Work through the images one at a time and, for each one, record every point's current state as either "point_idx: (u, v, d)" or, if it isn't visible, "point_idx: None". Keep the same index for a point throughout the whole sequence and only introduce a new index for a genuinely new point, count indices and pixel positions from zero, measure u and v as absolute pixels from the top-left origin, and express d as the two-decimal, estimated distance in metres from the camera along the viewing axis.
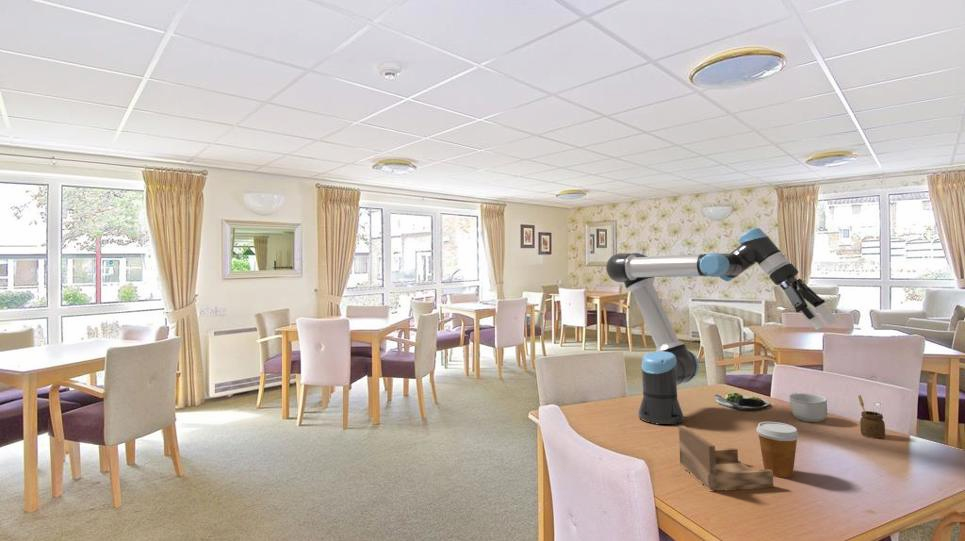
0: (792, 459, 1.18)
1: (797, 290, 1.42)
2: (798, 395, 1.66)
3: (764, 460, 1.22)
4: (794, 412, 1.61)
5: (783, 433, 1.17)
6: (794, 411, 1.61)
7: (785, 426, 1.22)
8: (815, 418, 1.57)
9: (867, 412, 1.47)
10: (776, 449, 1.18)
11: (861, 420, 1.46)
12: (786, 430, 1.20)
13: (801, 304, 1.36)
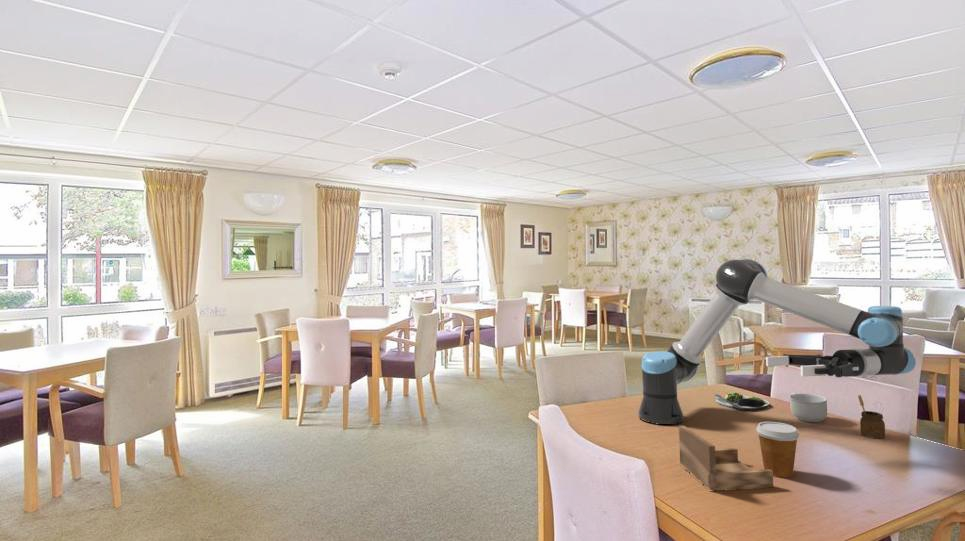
0: (792, 459, 1.18)
1: None
2: (798, 395, 1.66)
3: (764, 460, 1.22)
4: (794, 412, 1.61)
5: (783, 433, 1.17)
6: (794, 411, 1.61)
7: (785, 426, 1.22)
8: (815, 418, 1.57)
9: (867, 412, 1.47)
10: (776, 449, 1.18)
11: (861, 420, 1.46)
12: (786, 430, 1.20)
13: (839, 375, 1.20)
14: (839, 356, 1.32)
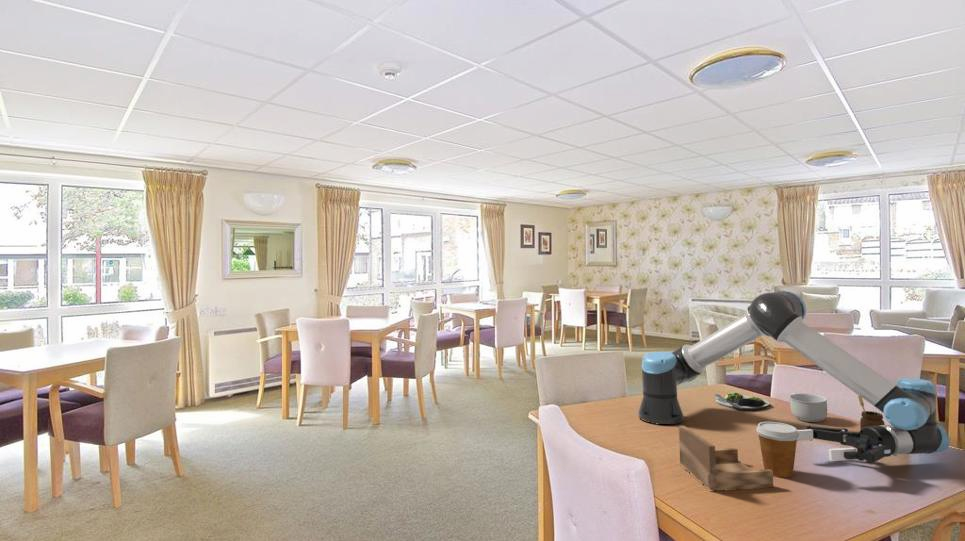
0: (792, 459, 1.18)
1: (867, 452, 1.18)
2: (798, 395, 1.66)
3: (764, 460, 1.22)
4: (794, 412, 1.61)
5: (783, 433, 1.17)
6: (794, 411, 1.61)
7: (785, 426, 1.22)
8: (815, 418, 1.57)
9: (867, 412, 1.47)
10: (776, 449, 1.18)
11: (861, 420, 1.46)
12: (786, 430, 1.20)
13: (871, 461, 1.12)
14: (868, 433, 1.23)
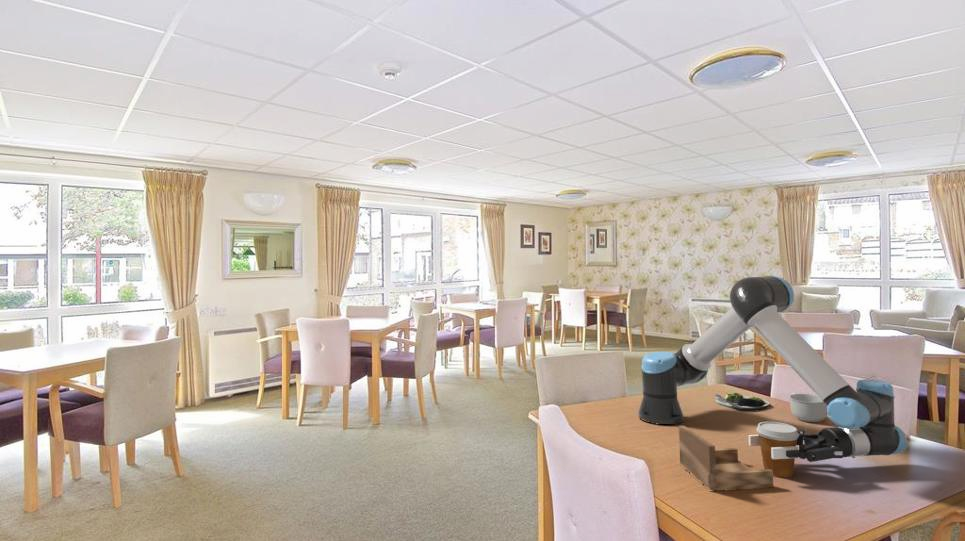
0: (792, 459, 1.18)
1: None
2: (798, 395, 1.66)
3: (764, 460, 1.22)
4: (794, 412, 1.61)
5: (783, 433, 1.17)
6: (794, 411, 1.61)
7: (785, 426, 1.22)
8: (815, 418, 1.57)
9: None
10: None
11: None
12: (786, 430, 1.20)
13: (811, 460, 1.14)
14: (826, 435, 1.23)
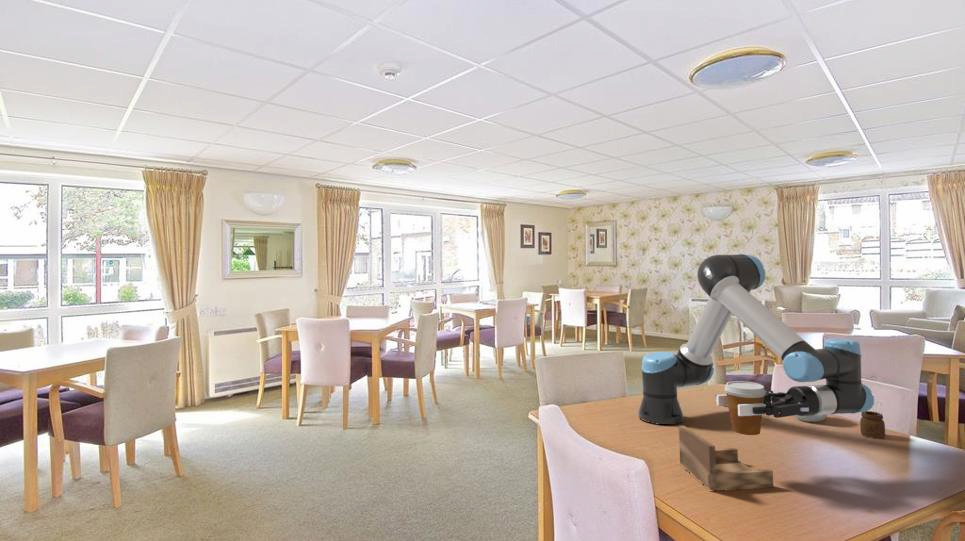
0: (759, 416, 1.17)
1: None
2: None
3: (732, 419, 1.20)
4: None
5: (750, 390, 1.16)
6: None
7: (753, 384, 1.21)
8: (815, 418, 1.57)
9: (867, 412, 1.47)
10: None
11: (861, 420, 1.46)
12: (753, 387, 1.18)
13: (777, 416, 1.12)
14: (793, 393, 1.22)
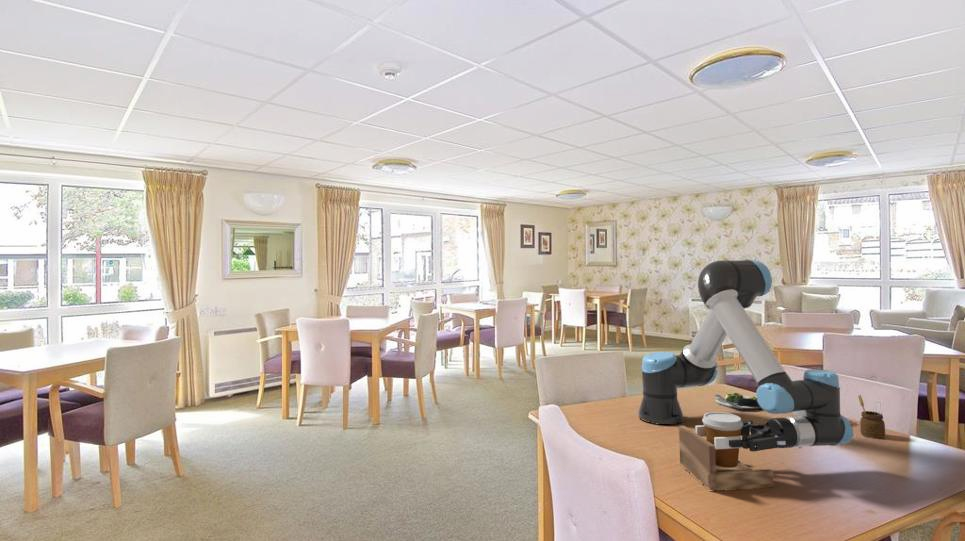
0: (736, 449, 1.17)
1: None
2: None
3: None
4: (794, 412, 1.61)
5: (726, 423, 1.16)
6: None
7: (731, 416, 1.21)
8: None
9: (867, 412, 1.47)
10: None
11: (861, 420, 1.46)
12: (730, 420, 1.19)
13: (752, 449, 1.13)
14: (772, 425, 1.22)
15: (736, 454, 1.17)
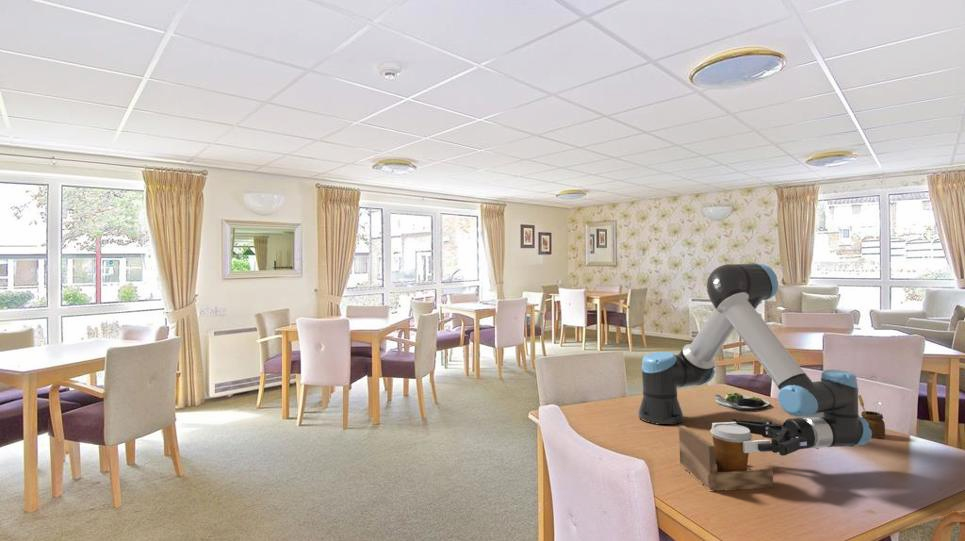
0: (745, 461, 1.15)
1: None
2: None
3: (717, 462, 1.18)
4: None
5: (736, 434, 1.14)
6: None
7: (739, 427, 1.20)
8: None
9: (867, 412, 1.47)
10: (729, 451, 1.15)
11: None
12: (739, 431, 1.17)
13: (783, 453, 1.10)
14: (789, 426, 1.22)
15: (745, 466, 1.15)
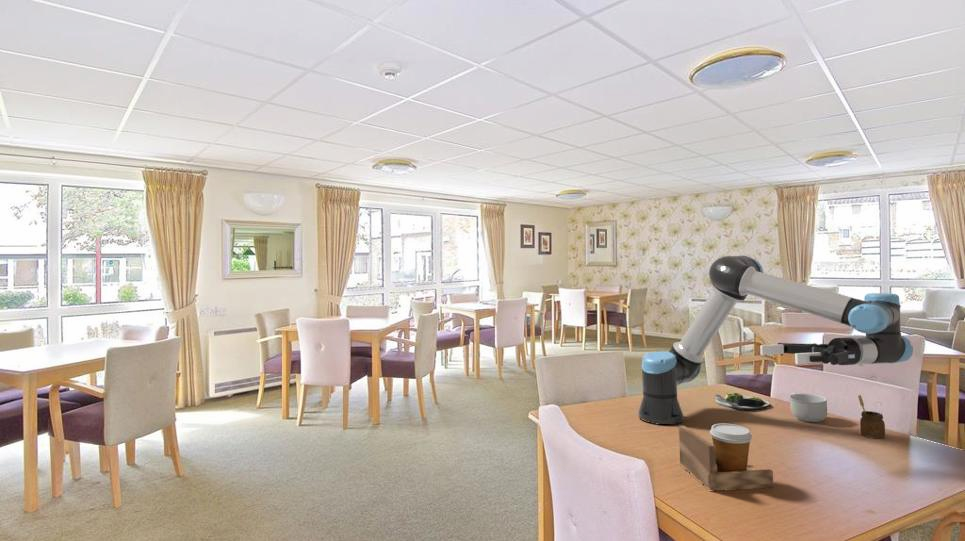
0: (745, 462, 1.15)
1: None
2: (798, 395, 1.66)
3: (717, 463, 1.18)
4: (794, 412, 1.61)
5: (736, 435, 1.14)
6: (794, 411, 1.61)
7: (738, 428, 1.19)
8: (815, 418, 1.57)
9: (867, 412, 1.47)
10: (729, 452, 1.15)
11: (861, 420, 1.46)
12: (739, 432, 1.17)
13: (835, 363, 1.17)
14: (835, 344, 1.29)
15: (745, 467, 1.15)
